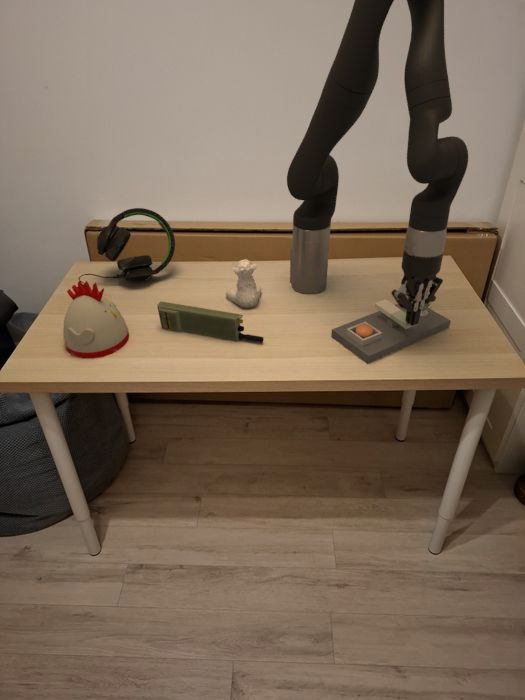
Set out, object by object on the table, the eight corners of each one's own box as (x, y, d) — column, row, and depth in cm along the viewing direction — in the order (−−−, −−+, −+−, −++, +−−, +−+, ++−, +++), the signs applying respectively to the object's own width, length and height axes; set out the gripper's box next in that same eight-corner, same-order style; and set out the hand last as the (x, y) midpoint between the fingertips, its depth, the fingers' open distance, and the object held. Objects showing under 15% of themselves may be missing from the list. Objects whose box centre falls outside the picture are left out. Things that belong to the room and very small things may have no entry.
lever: (417, 309, 113) (429, 294, 108) (422, 307, 113) (434, 292, 109) (421, 314, 112) (433, 299, 107) (426, 312, 113) (438, 297, 108)
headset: (106, 314, 135) (187, 249, 136) (100, 319, 121) (190, 248, 123) (61, 262, 130) (145, 196, 131) (49, 262, 117) (143, 189, 118)
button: (351, 334, 106) (352, 327, 105) (364, 329, 107) (365, 322, 106) (362, 342, 103) (363, 335, 102) (375, 337, 105) (376, 329, 104)
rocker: (374, 306, 110) (375, 303, 110) (384, 302, 112) (385, 299, 111) (406, 329, 104) (407, 325, 103) (416, 324, 105) (417, 320, 104)
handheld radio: (166, 322, 115) (265, 340, 109) (160, 330, 113) (261, 348, 106) (162, 299, 111) (264, 315, 105) (155, 306, 109) (260, 324, 102)
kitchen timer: (114, 361, 103) (99, 300, 94) (54, 356, 105) (34, 295, 96) (138, 325, 114) (126, 268, 105) (83, 321, 116) (67, 264, 107)
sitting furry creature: (260, 291, 126) (259, 248, 119) (269, 307, 120) (269, 263, 113) (225, 296, 125) (222, 253, 117) (232, 313, 118) (229, 269, 111)
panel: (331, 336, 109) (332, 323, 107) (410, 305, 119) (412, 292, 117) (367, 363, 101) (369, 350, 99) (448, 327, 111) (452, 314, 109)
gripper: (432, 234, 100) (420, 307, 110) (385, 249, 94) (376, 325, 104) (462, 245, 94) (446, 321, 104) (414, 262, 89) (402, 340, 99)
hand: (411, 323), depth 104 cm, fingers closed
